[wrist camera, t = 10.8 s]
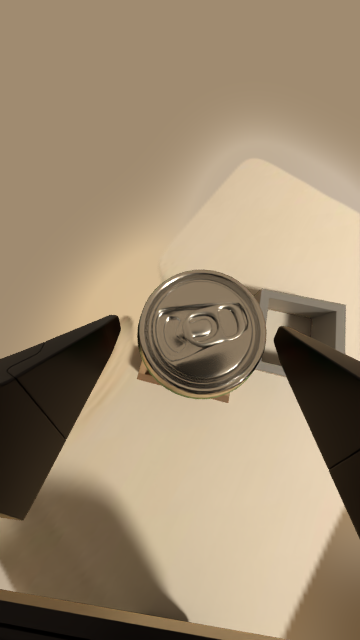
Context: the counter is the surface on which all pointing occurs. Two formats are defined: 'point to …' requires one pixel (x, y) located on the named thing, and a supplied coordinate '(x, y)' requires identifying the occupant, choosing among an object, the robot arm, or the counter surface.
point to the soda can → (201, 334)
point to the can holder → (323, 313)
